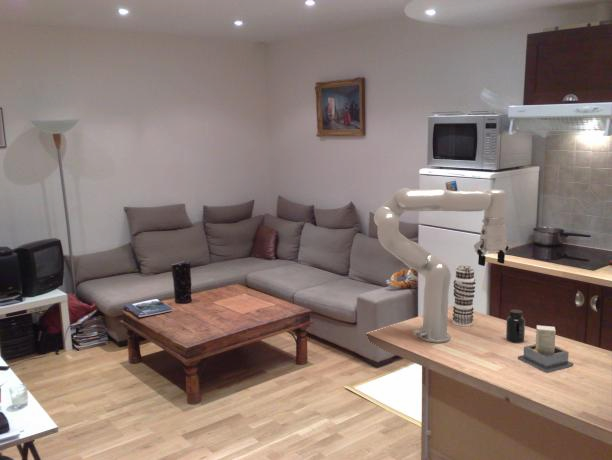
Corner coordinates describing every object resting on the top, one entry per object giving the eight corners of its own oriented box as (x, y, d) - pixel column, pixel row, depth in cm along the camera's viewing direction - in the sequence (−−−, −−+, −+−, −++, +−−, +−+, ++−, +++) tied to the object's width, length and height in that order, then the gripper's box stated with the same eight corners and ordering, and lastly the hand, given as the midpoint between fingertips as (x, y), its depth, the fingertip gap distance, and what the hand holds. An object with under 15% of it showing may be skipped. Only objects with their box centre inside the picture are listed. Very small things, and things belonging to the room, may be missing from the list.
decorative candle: (477, 322, 243) (479, 266, 239) (468, 327, 236) (471, 270, 232) (457, 317, 249) (459, 263, 245) (448, 323, 242) (450, 267, 238)
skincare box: (553, 358, 202) (555, 326, 200) (553, 363, 198) (556, 330, 195) (534, 356, 204) (536, 324, 202) (534, 361, 200) (537, 328, 198)
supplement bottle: (521, 337, 225) (523, 308, 223) (526, 343, 219) (528, 314, 217) (503, 336, 226) (505, 308, 224) (508, 343, 219) (509, 313, 217)
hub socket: (546, 372, 192) (547, 357, 191) (517, 359, 204) (518, 344, 203) (573, 366, 198) (574, 351, 197) (543, 353, 209) (544, 338, 208)
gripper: (483, 224, 211) (480, 268, 214) (517, 221, 218) (514, 264, 221) (469, 221, 218) (467, 264, 221) (503, 218, 225) (501, 260, 228)
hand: (491, 264), depth 221 cm, fingers open, 9 cm apart
